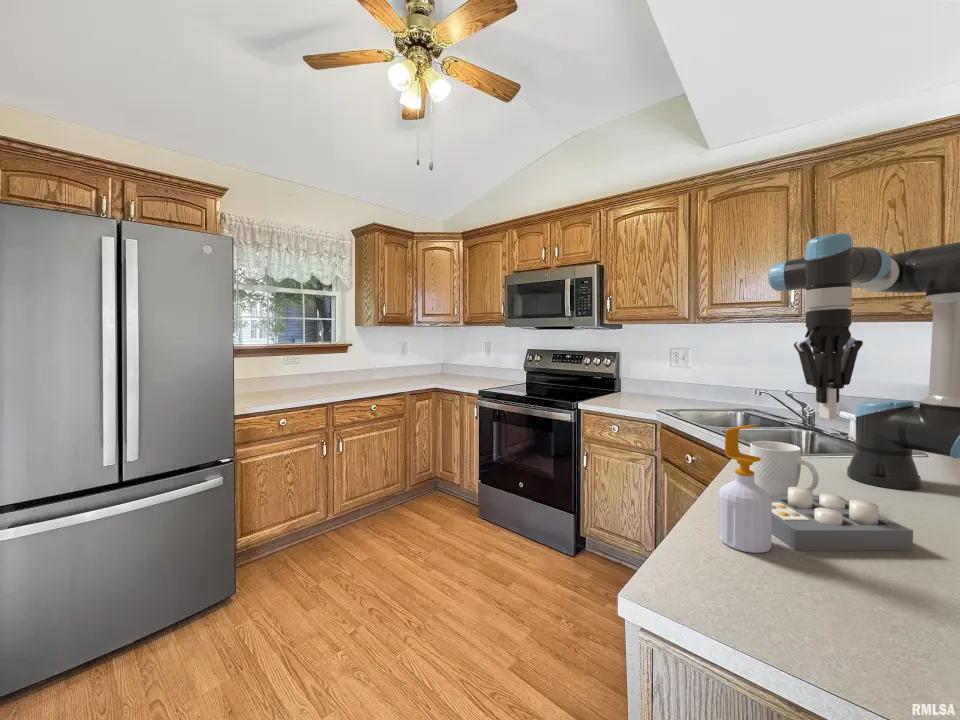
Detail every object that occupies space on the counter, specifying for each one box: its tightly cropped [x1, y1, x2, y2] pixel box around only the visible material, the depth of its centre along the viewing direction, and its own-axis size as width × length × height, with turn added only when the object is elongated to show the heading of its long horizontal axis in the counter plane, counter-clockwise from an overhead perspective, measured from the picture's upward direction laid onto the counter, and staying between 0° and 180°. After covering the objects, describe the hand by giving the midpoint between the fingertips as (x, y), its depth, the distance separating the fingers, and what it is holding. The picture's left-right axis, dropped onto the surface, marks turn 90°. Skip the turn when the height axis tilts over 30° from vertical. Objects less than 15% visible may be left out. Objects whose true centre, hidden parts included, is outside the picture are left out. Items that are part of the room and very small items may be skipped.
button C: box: [788, 486, 814, 509], centre depth 93 cm, size 4×4×4 cm
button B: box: [848, 499, 879, 525], centre depth 85 cm, size 4×4×4 cm
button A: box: [818, 493, 846, 509], centre depth 93 cm, size 4×4×4 cm
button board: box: [770, 495, 914, 552], centre depth 89 cm, size 22×18×4 cm
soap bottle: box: [718, 423, 772, 554], centre depth 84 cm, size 9×9×25 cm
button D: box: [814, 508, 842, 525], centre depth 85 cm, size 4×4×4 cm
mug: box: [749, 440, 819, 496], centre depth 108 cm, size 15×11×13 cm
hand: (827, 417), depth 89 cm, fingers closed
